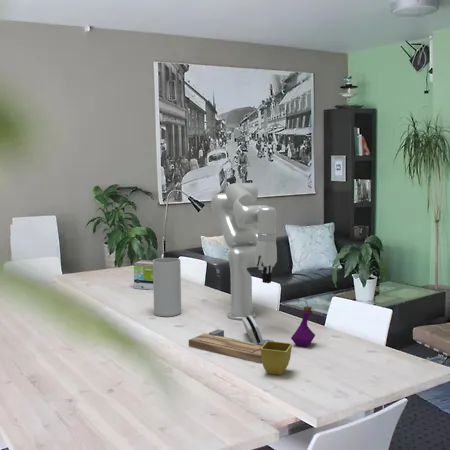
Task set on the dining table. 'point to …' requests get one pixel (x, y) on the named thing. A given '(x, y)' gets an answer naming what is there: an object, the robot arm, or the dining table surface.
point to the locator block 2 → (264, 342)
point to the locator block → (217, 333)
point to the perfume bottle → (304, 329)
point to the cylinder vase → (167, 286)
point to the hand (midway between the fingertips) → (266, 282)
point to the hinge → (252, 330)
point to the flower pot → (275, 356)
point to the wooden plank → (228, 347)
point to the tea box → (143, 275)
